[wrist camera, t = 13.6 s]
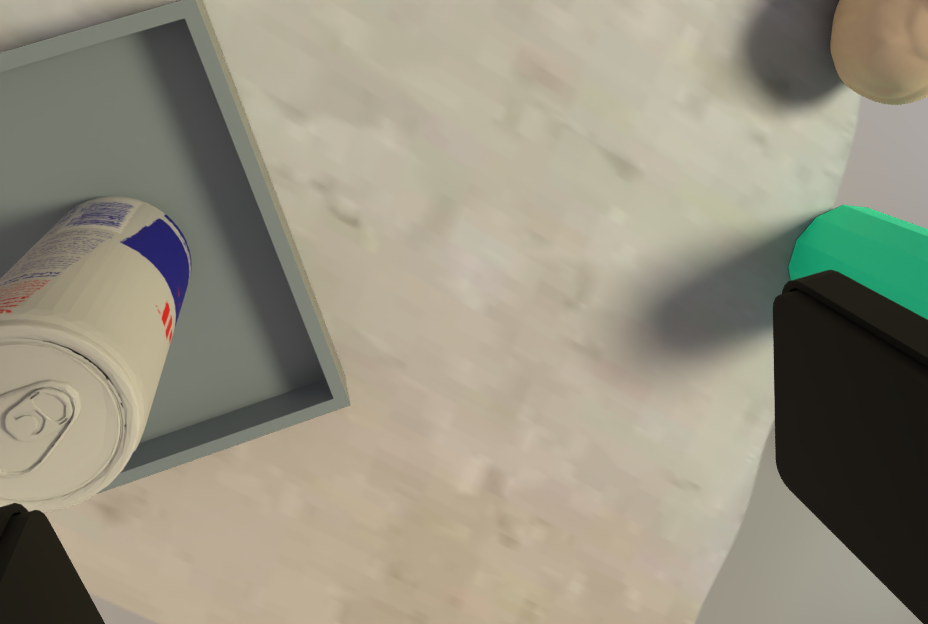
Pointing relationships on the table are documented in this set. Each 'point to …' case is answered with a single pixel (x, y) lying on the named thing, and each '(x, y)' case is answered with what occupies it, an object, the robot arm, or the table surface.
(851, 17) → the garlic bulb
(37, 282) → the beverage can
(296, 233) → the table surface
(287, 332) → the tray
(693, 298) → the table surface
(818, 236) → the candle
